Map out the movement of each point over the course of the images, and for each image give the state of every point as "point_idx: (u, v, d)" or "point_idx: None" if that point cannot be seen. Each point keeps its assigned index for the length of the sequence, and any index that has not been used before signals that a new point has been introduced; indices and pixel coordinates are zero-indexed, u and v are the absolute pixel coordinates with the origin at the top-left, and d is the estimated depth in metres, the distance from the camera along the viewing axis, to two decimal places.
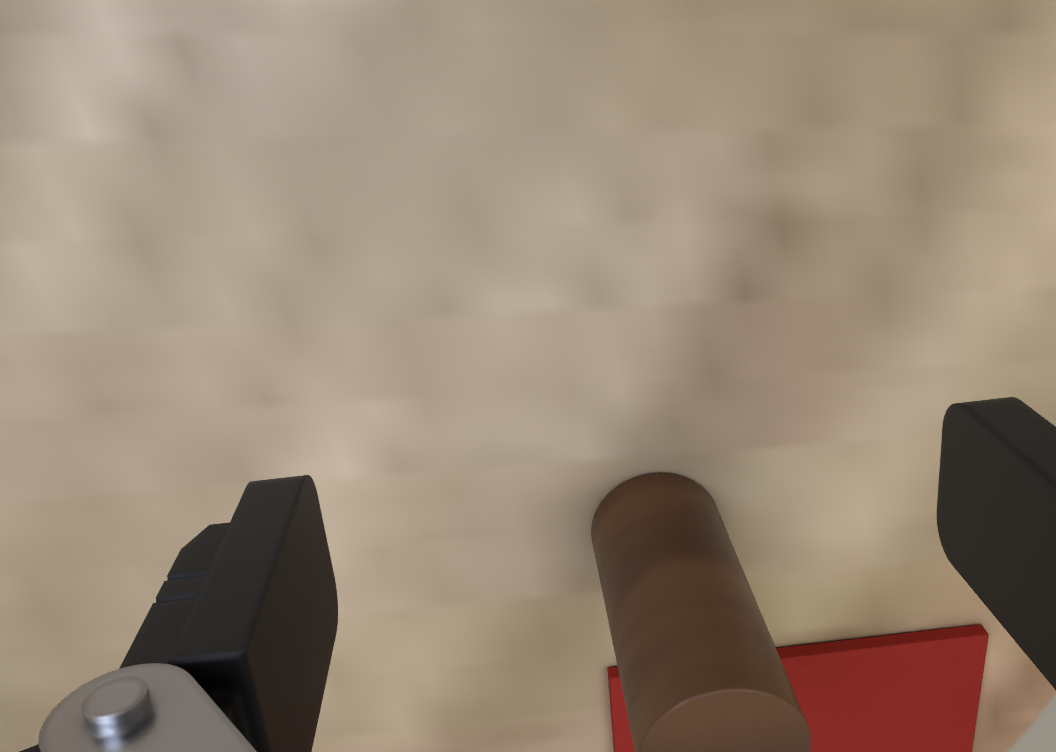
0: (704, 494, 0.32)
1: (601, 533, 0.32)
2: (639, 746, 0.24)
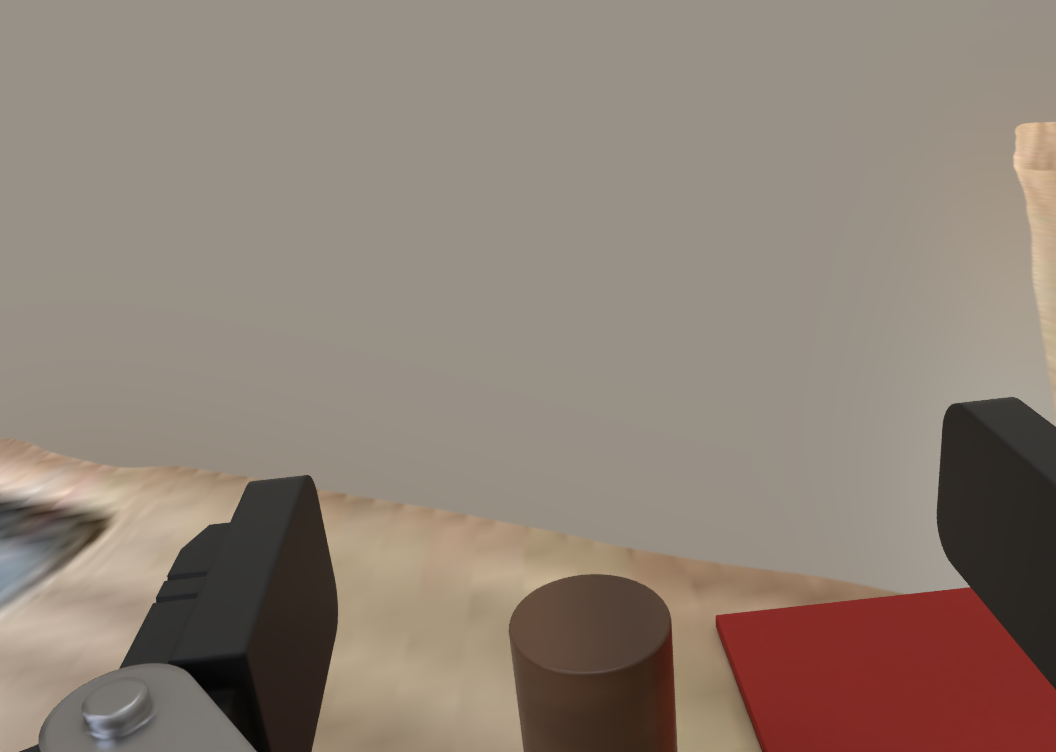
0: None
1: None
2: (577, 677, 0.24)
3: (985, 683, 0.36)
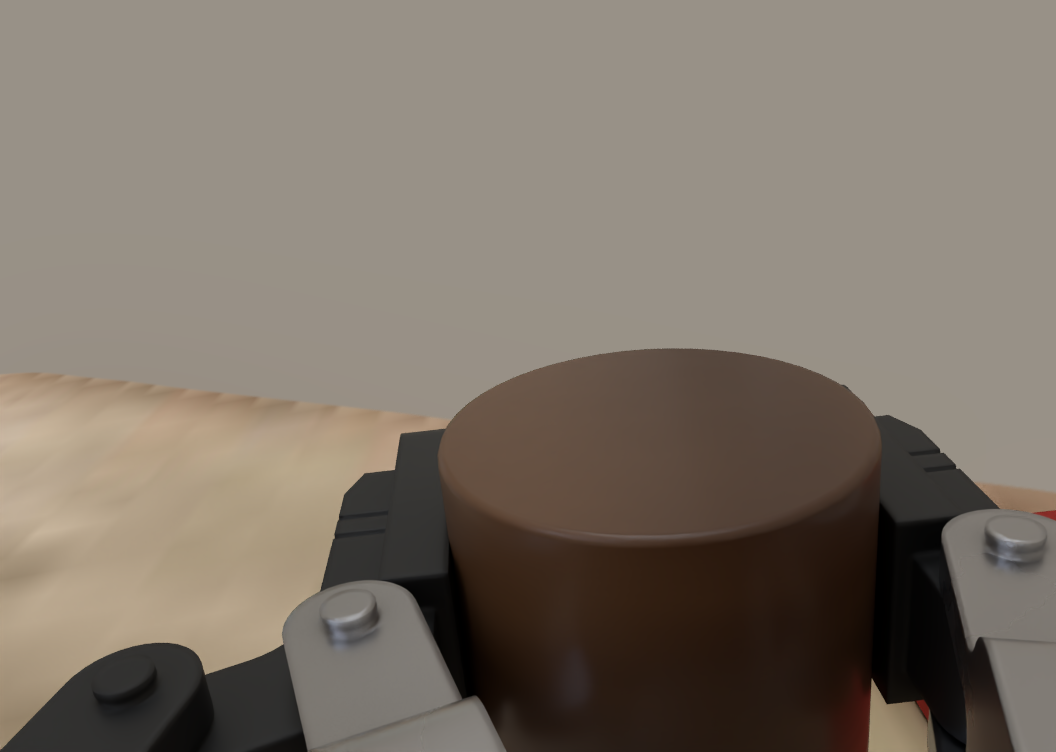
0: None
1: None
2: (632, 551, 0.08)
3: None
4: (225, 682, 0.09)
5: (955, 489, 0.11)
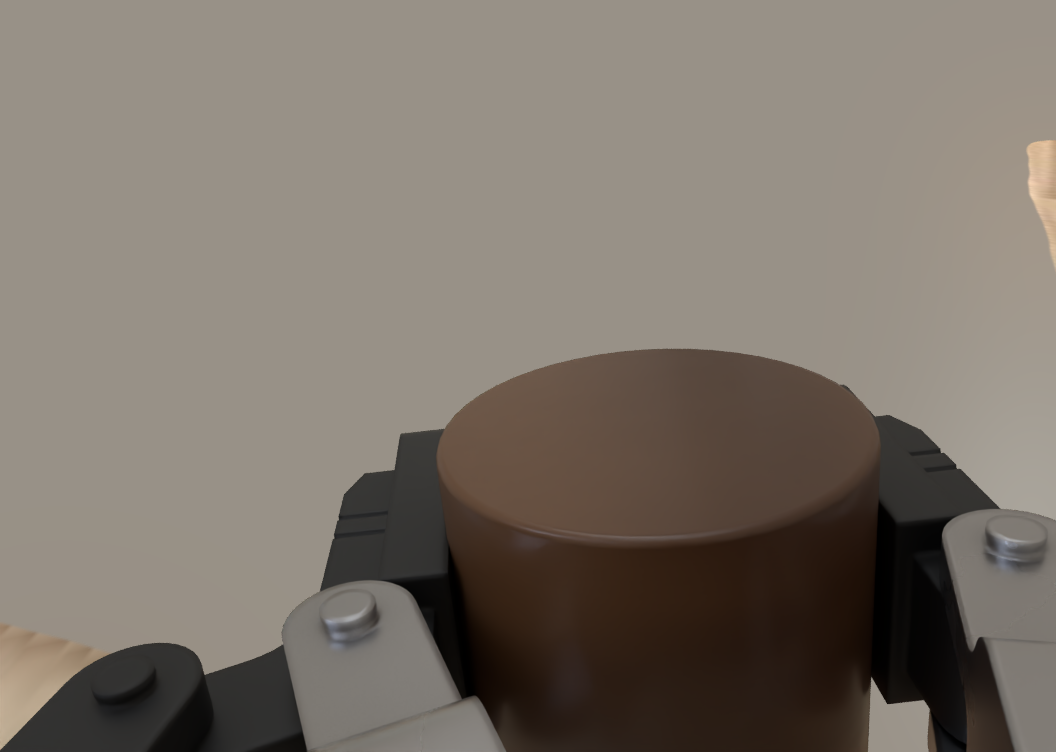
0: None
1: None
2: (630, 552, 0.08)
3: None
4: (224, 682, 0.09)
5: (955, 489, 0.11)
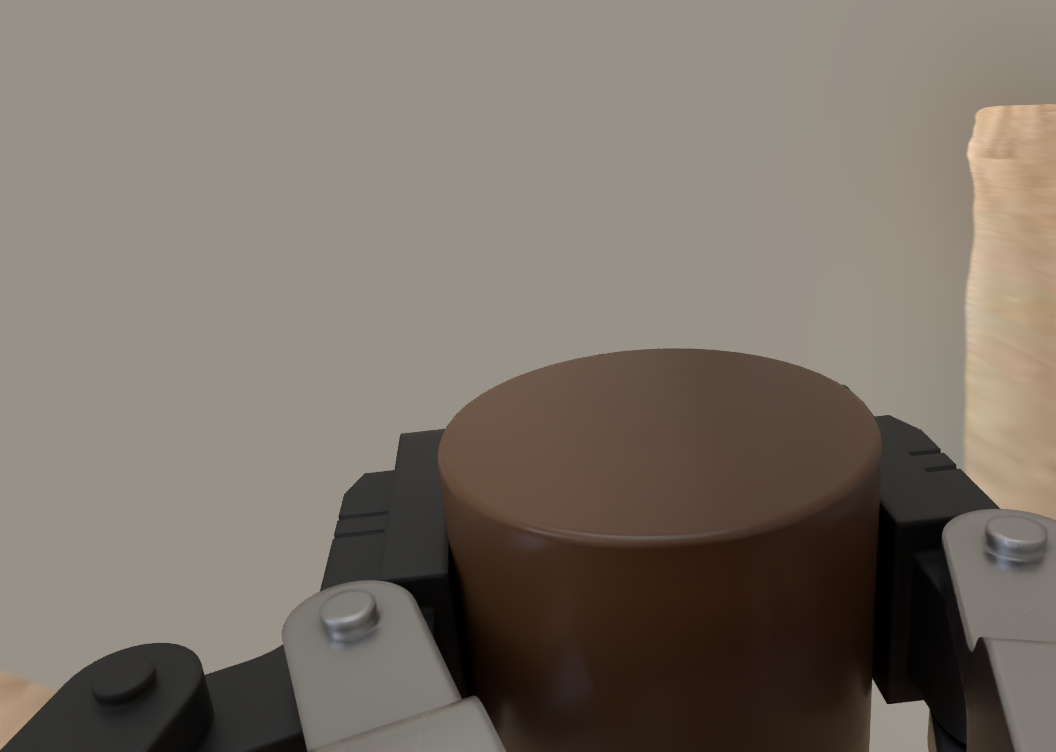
0: None
1: None
2: (632, 551, 0.08)
3: None
4: (224, 683, 0.09)
5: (955, 489, 0.11)
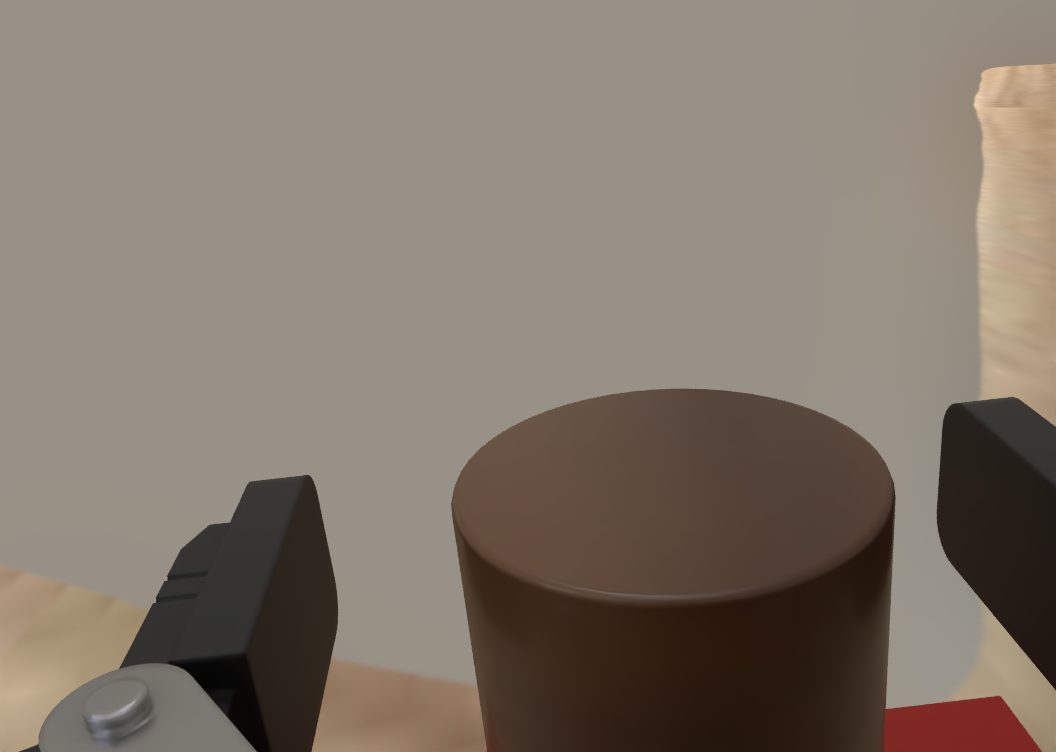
0: None
1: None
2: (647, 611, 0.08)
3: None
4: None
5: None
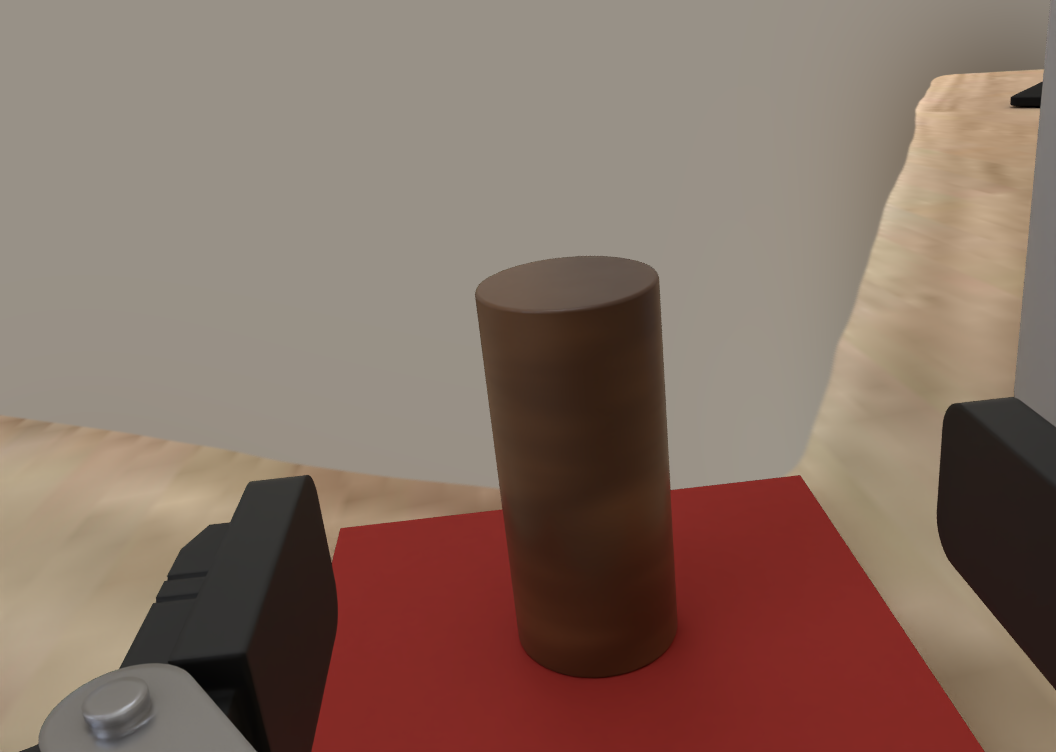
0: None
1: (562, 630, 0.25)
2: (550, 315, 0.21)
3: None
4: None
5: None
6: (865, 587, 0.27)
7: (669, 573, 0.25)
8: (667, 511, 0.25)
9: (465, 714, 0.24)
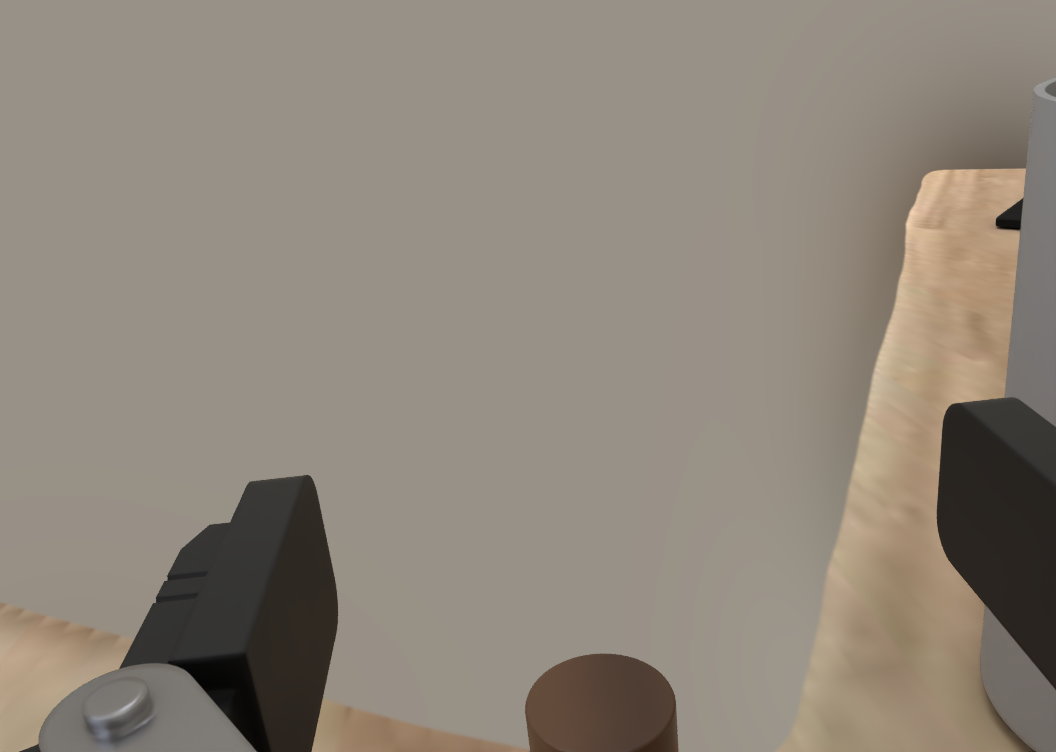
0: None
1: None
2: None
3: None
4: None
5: None
6: None
7: None
8: None
9: None
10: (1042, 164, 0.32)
